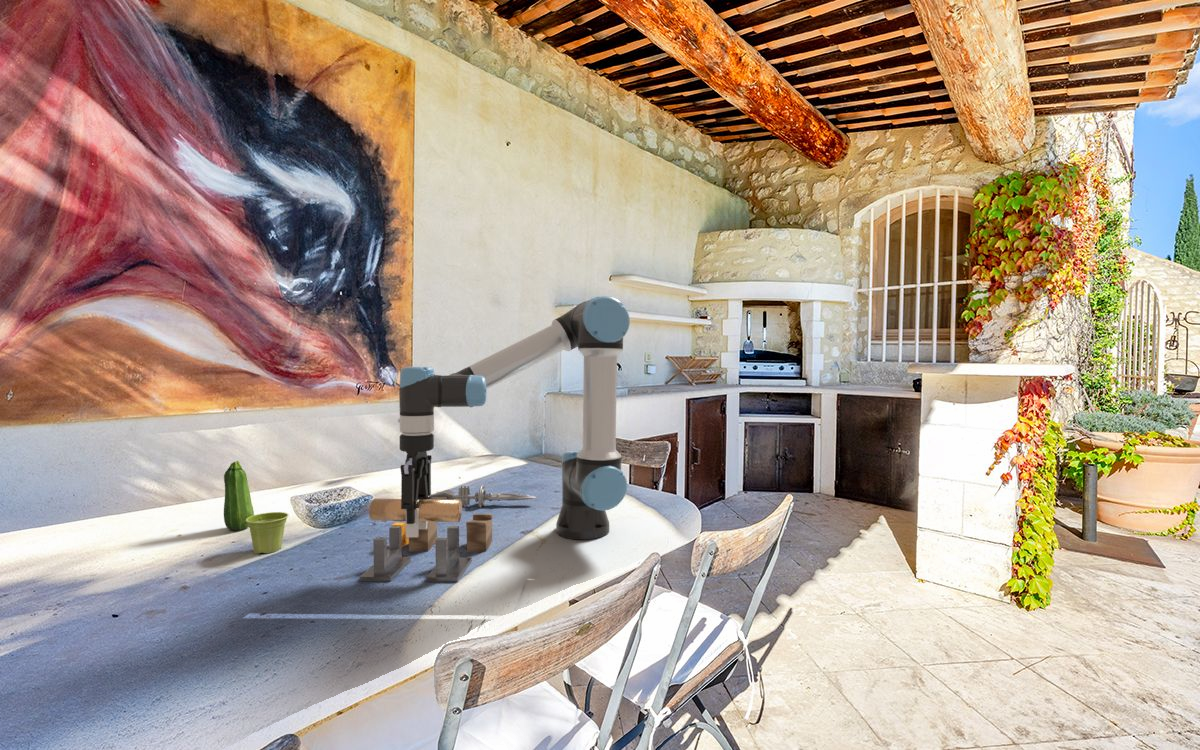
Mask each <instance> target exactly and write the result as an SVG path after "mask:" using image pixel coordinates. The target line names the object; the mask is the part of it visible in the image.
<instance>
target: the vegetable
mask: <svg viewBox="0 0 1200 750" xmlns="http://www.w3.org/2000/svg"><path fill="white" fill-rule="evenodd" d="M223 481H224V482H223V484H224V502H223V503H224V504H223V521H224V524H225V526H226V528H227V529H228V530H230V531H232V532H233V531H234V532H237V531H238V530H239V531H243V529H244V530H246V529H248V528H249V526H248V523H247V522H246V519H247V518H248V517H251V516H253V515H255V513H254V507H253V503H252V498H251V491H250V487H249V483H248V477H247V473H246V471H245V470H244V469H243V467H242V465H241V463H240V461H239V460H235V461H233V462H232V463H230V465H229V466H228V468H227V470H226V471H225V472H224V475H223Z"/></svg>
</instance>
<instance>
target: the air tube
mask: <svg viewBox="0 0 1200 750" xmlns="http://www.w3.org/2000/svg"><path fill="white" fill-rule="evenodd" d="M417 508H419V521H428V522H437V523H441V522H443V523H447V522H449V523H460V521H461V519H462V515H463V507H462V502H461V500H457V499H454V500H443V499H418V500H417ZM368 515H369V517H368V518H369V519H370V521H374V522H375V521H376V522H386V521H387V522H406V509H401V498H373V499H372V500H371V502H370V503H369V509H368Z"/></svg>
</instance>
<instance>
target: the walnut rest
mask: <svg viewBox="0 0 1200 750" xmlns="http://www.w3.org/2000/svg"><path fill="white" fill-rule="evenodd" d="M465 525H466V526H465V527H466V552H487V551H488V549H489V547H490V546H491V544H492V543H493V514H492V513H473V514H472V520H470V521H469V520H467V521H466V522H465ZM437 538H438V522H428V521H427V529H419V537H409V543H408V552H429V551H430V550H431V549H432V547H434V546H435V545H436V543H435V540H436V539H437Z"/></svg>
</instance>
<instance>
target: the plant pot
mask: <svg viewBox="0 0 1200 750" xmlns="http://www.w3.org/2000/svg"><path fill="white" fill-rule="evenodd" d="M288 518H289V513H288V512H285V511H284V512H283V511H271V512H270V511H269V512H265V513H264V512H263V513H257V514H254V515H253V516H251V517H248V518H247V519H246V522H247V523H248V526H249V527H248V528H249V531H250V532H249V533H250V536H251V544H252V549H253V553H255V554H261V553H264V554H270V553H275V552H277V551H279V550H280V549H282V546H283V540H284V531H285V525H286V523H287V519H288Z"/></svg>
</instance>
